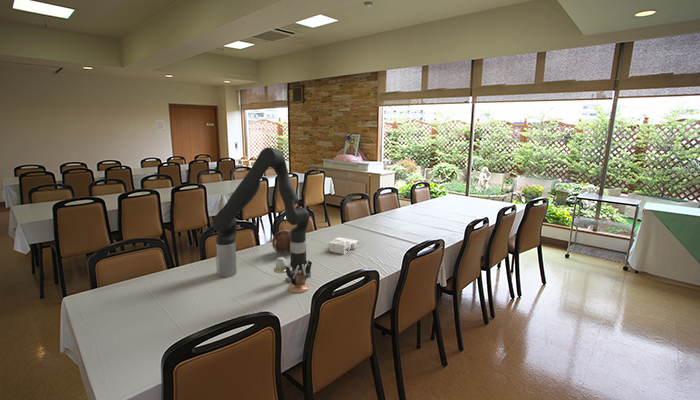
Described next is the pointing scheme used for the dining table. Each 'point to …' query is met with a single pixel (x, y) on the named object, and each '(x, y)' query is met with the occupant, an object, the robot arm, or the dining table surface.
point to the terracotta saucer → (298, 288)
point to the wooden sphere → (282, 242)
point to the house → (342, 245)
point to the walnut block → (300, 279)
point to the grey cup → (280, 264)
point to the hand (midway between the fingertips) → (298, 283)
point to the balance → (291, 272)
